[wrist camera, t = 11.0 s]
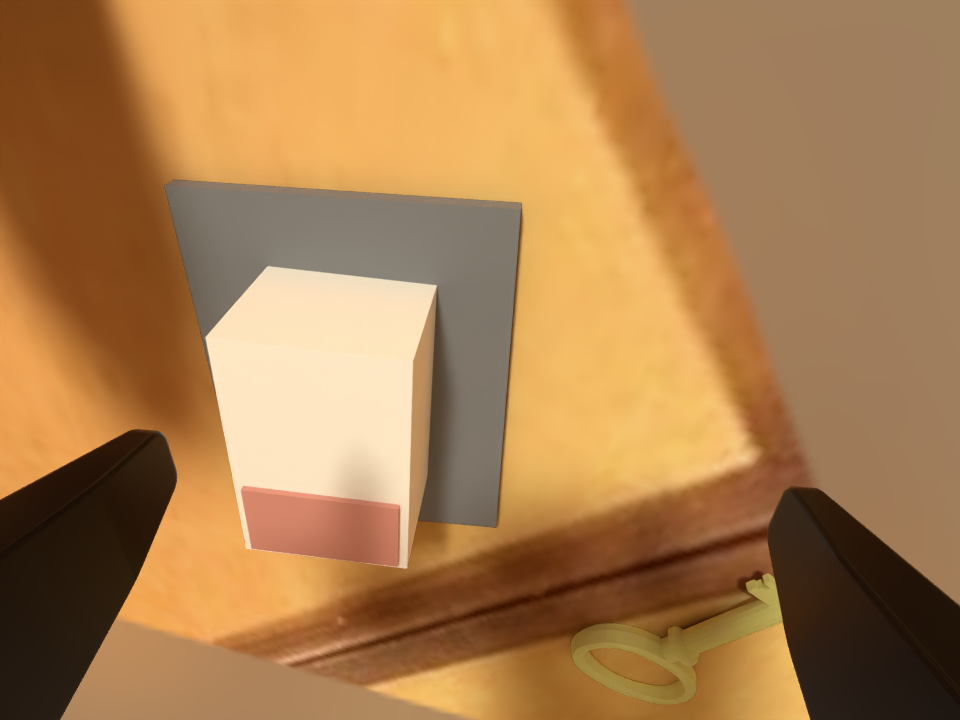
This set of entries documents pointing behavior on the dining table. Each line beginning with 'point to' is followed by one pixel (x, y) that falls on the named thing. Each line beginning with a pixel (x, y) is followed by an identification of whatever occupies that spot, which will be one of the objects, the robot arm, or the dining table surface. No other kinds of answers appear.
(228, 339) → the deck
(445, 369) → the mat
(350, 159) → the dining table surface
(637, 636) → the key
